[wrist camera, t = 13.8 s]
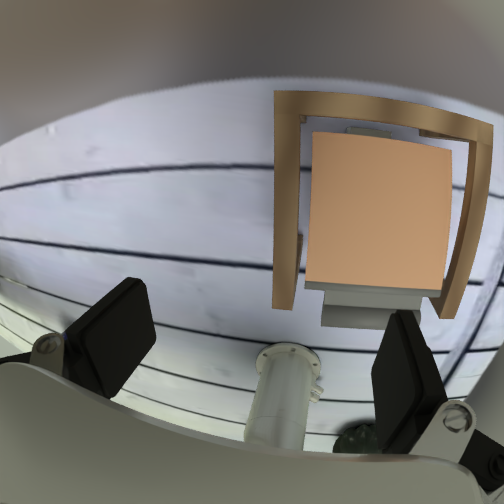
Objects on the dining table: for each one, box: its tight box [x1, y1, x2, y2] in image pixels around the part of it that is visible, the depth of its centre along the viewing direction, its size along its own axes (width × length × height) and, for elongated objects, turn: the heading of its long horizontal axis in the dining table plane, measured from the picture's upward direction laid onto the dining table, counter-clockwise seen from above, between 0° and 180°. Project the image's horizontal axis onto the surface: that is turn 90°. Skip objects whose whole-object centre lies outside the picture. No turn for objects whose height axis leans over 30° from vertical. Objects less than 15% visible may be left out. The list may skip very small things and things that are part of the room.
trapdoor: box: [304, 132, 452, 330], centre depth 24 cm, size 14×18×2 cm
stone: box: [347, 127, 391, 139], centre depth 32 cm, size 5×5×5 cm
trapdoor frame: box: [272, 91, 493, 319], centre depth 29 cm, size 20×20×16 cm
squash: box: [332, 424, 382, 454], centre depth 52 cm, size 14×15×15 cm
